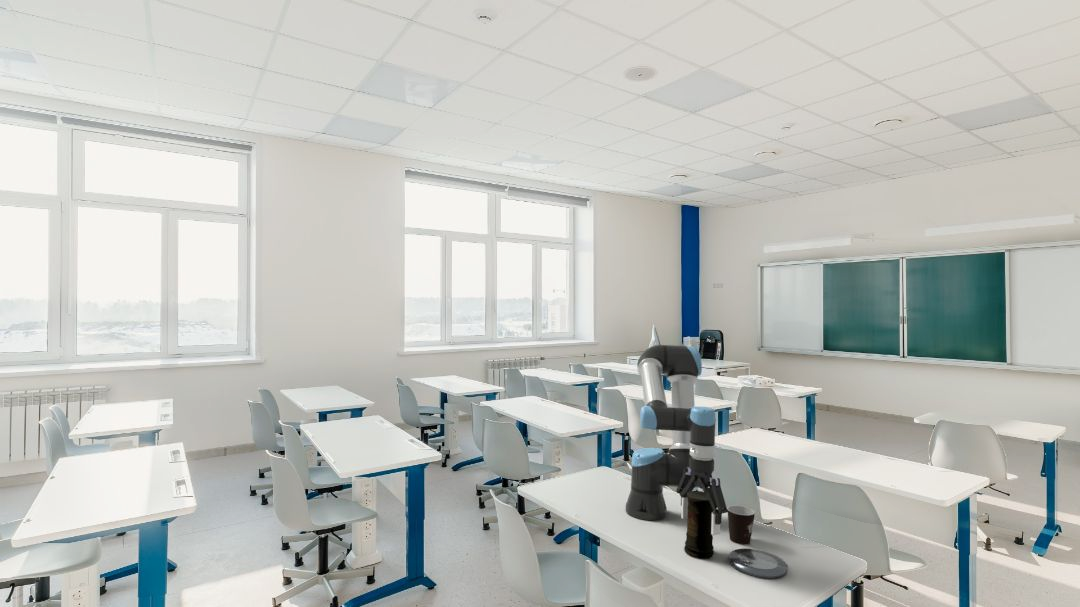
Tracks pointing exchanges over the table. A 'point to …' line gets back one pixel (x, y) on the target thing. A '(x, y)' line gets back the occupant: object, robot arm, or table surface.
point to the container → (699, 526)
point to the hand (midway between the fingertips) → (699, 525)
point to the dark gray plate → (758, 563)
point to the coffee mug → (740, 524)
